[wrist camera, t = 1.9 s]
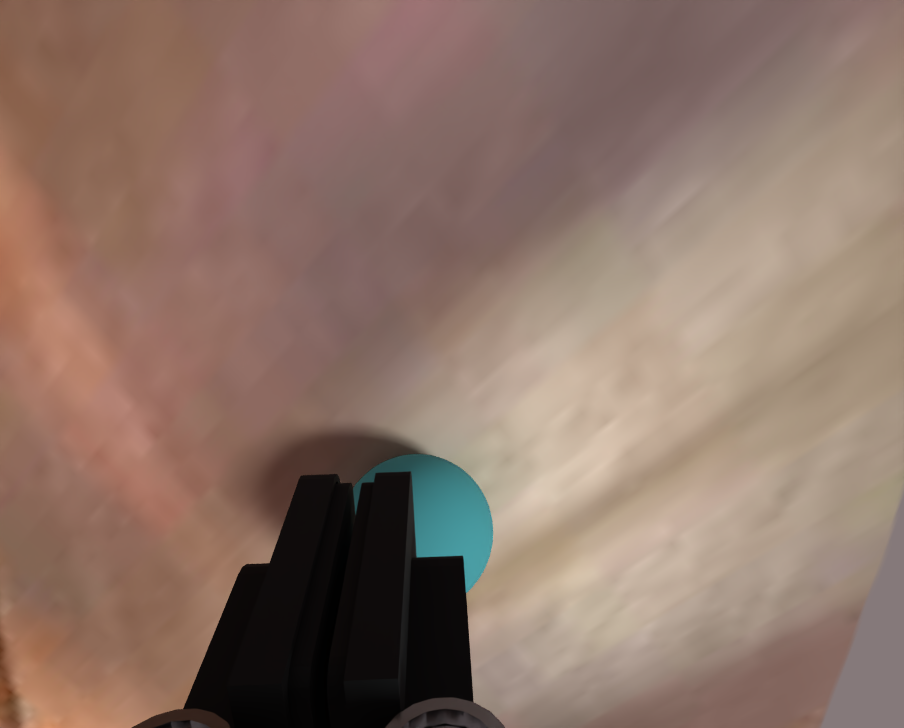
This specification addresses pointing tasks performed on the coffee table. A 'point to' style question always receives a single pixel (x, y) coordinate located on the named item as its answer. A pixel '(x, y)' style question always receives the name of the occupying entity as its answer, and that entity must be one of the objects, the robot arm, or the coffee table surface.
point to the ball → (444, 511)
